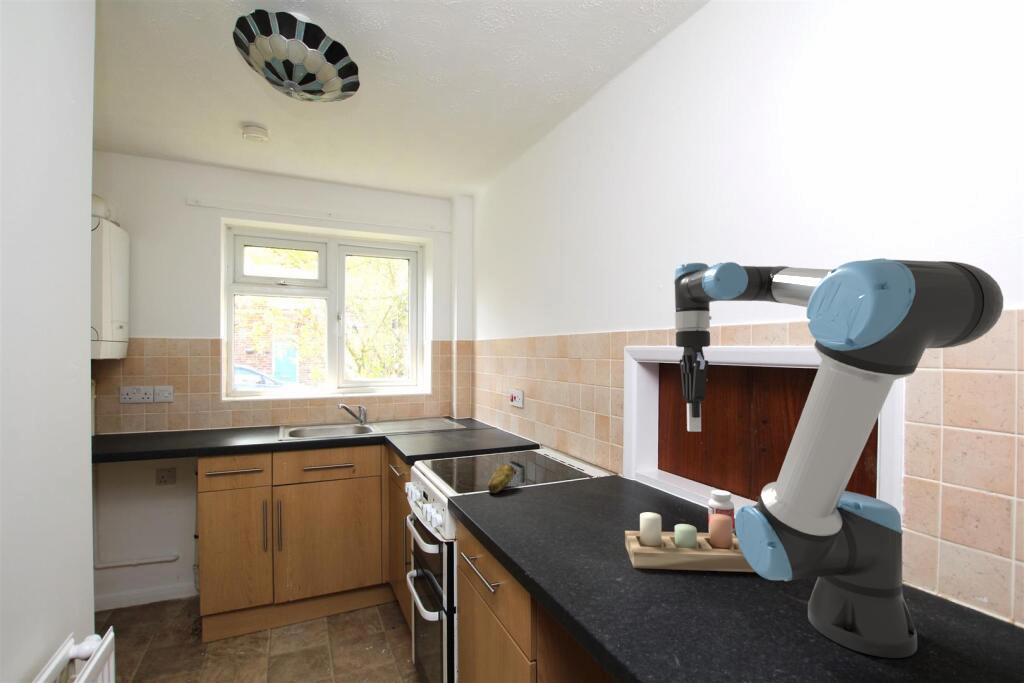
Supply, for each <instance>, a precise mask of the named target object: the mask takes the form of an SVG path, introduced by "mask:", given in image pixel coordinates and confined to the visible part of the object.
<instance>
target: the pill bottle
mask: <svg viewBox="0 0 1024 683" xmlns="http://www.w3.org/2000/svg"><path fill="white" fill-rule="evenodd" d="M731 494H732V493H731V492H729V491H727V490H721V489H713V490H711V491H710V497H711V498H710V499H709V500H708V502H707V504H708V507H707V508H708V512H707V513H708V533H710V515H712V514H723V515H727V516H729V517H731V518H732V534H734V535H736V530H735V506H734V503H733V502H732V501H731V499H732V495H731Z"/></svg>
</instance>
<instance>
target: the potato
mask: <svg viewBox="0 0 1024 683" xmlns="http://www.w3.org/2000/svg"><path fill="white" fill-rule="evenodd" d="M514 476H515V469H514V467H513V466H512V465H509V464H501V465H500V466H498V467H497V469H496V470H495V471H494V473H493V474H492V476H491V478H490V479H489V481H488V482H487V490H488V492H489V493H491V494H493V493H494V494H497V493H499V492H500V491H502V490H504V488H506V487H507V486H508V485H509V484H510V482H511V481H513V479H514Z"/></svg>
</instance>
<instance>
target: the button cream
mask: <svg viewBox="0 0 1024 683" xmlns="http://www.w3.org/2000/svg"><path fill="white" fill-rule="evenodd" d="M639 531H640V541H641V543H643V544H645V545H649V546H658V545H660V544H661V543H662V540H661V532H662V516H661V515H660V514H659V513H657V512H650V511H649V512H642V513H641V512H640V514H639Z"/></svg>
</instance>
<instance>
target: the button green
mask: <svg viewBox="0 0 1024 683" xmlns="http://www.w3.org/2000/svg"><path fill="white" fill-rule="evenodd" d="M674 532H675V547H676V548H697V533H698V531H697V528H696V526H694V525H691V524H688V523H687V524H686V523H679V524H676V525H674Z"/></svg>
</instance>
